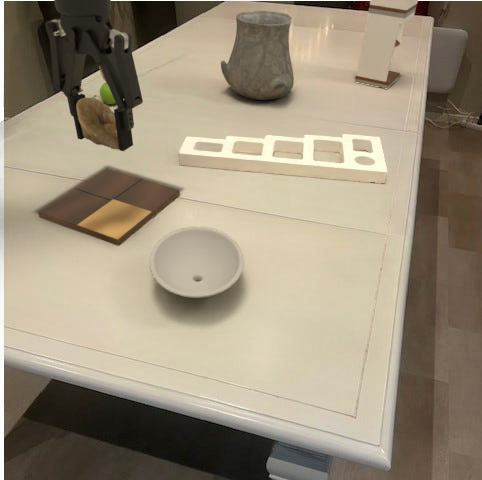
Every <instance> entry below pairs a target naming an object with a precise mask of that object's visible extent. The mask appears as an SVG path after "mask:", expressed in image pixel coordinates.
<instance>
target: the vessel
mask: <svg viewBox="0 0 482 480" xmlns="http://www.w3.org/2000/svg"><path fill="white" fill-rule="evenodd" d="M235 20H236V30H235V31H236V32H235V39H234V42H233V47H232V49H231V53H230V57H229V59H228V61H227V62H226V61H225V60H221V61H220V69H221V73H222V75H223V77H224V80H225V81H226V83H227V84H228V85H229V86H230V88H231V89H232V90H233V91H234V92H235V93H237V94H239V95H241V96H243V97H245V98H248V99H251V100H259V101H260V100H261V101H265V100H266V101H267V100H275V99H278V98H281V97H285V96H287V95H288V94H289V93H290V92H291V91H292V89H293V88H294V83H295V78H294V69H293V63H292V59H291V54H290V42H289V41H290V40H289V39H290V27H291V25H292V24H291V23H292V17H291V15H289V14H288V13H285V12H281V11H271V10H270V11H269V10H252V11H246V12H245V11H243V12H239V13H237V14H236V18H235Z"/></svg>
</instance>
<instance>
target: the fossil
mask: <svg viewBox="0 0 482 480" xmlns="http://www.w3.org/2000/svg"><path fill="white" fill-rule="evenodd" d="M76 110H77V115H78V120H79V122H80V124H81V128H82V132H83V136H84V137H85V138H84V139H86V140H88V141H90V142H92V143H93V144H95V145H98V146H104V147H107V148H110V149H112V150H116V151H117V150H118V151H120V150H119V143H118V136H117V129H116V122H115V115H114V110H112V109H111V107H110V106H109V105H108V104H107V103H106V104H105V103H104V102H102V100H100V99H98V98H96V97H85V98H82V99H80V100H79V101H78V102H77V104H76Z"/></svg>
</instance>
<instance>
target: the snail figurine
mask: <svg viewBox="0 0 482 480" xmlns="http://www.w3.org/2000/svg"><path fill="white" fill-rule="evenodd" d="M98 67H99V68H98V69H99V72H100V74H101V77H102V79H103V80H104V83H103V84H102V85H101V86H100V88H99V95H100V98H101V101H103V103H106V104H107V105H115V104H116V102H115V100H114V97H113V95H112V93H111V91H110V88H109V86H108V84H107V81H106V79H105V77H104V75H103V72H102V70H101V68H100V66H99V65H98Z"/></svg>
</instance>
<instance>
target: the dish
mask: <svg viewBox="0 0 482 480" xmlns="http://www.w3.org/2000/svg"><path fill="white" fill-rule="evenodd" d="M148 260H149V263H148V264H149V270H150V273H151V275H152V276H153V278H154V280H155V282H156V283H157V284H158V285H159V286H161V288H163V289H164V290H166V291H167V292H169V293H171V294H174V295H177V296H180V297H184V298H193V299H197V298H198V299H199V298H200V299H201V298H209V297H213V296H216V295H219V294H221V293H223V292H225V291H228V289H230V288H231V287H232V286H233V285H234V284H236V282H237V281H238V280H239V279H240V277H241V275H242V273H243V270H244V265H245V257H244V254H243V250H242V248H241V246H240V245H239V243H238V242H237V241H236V240H235V239H234V238H233V237H232V236H230V235H229V234H228V233H226V232H225V231H224V232H223V231H222V230H220V229H217V228H213V227H209V226H203V225H202V226H200V225H193V226H186V227H180V228H178V229H175V230H172V231H170V232H168V233H167V234H165V235H163V236H162V237H161V238H160V239H159V240H158V241H157V242H156V243H155V245H154V246H153V248H152V250H151V252H150V255H149V259H148Z"/></svg>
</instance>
